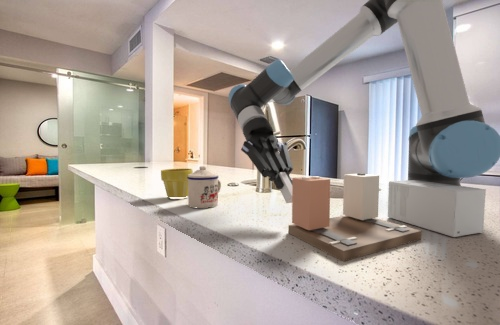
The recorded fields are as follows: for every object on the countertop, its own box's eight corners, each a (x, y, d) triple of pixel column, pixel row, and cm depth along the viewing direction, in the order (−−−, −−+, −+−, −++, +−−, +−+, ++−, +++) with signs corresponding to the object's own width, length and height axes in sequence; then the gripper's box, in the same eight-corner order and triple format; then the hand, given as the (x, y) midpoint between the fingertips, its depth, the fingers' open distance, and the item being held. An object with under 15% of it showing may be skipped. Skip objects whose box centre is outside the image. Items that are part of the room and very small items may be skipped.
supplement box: (413, 214, 63) (484, 234, 49) (386, 217, 61) (453, 239, 46) (415, 179, 63) (488, 188, 49) (388, 180, 60) (456, 191, 46)
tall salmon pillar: (311, 219, 52) (312, 175, 51) (329, 226, 47) (330, 177, 47) (292, 223, 49) (292, 176, 49) (308, 230, 45) (309, 179, 44)
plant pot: (155, 198, 84) (154, 169, 83) (179, 194, 92) (179, 167, 91) (175, 202, 78) (174, 171, 77) (199, 197, 86) (199, 169, 86)
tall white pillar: (358, 211, 58) (359, 172, 57) (377, 217, 54) (379, 174, 53) (342, 214, 56) (343, 173, 55) (362, 220, 51) (363, 175, 51)
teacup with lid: (203, 210, 68) (202, 168, 67) (181, 206, 73) (180, 166, 72) (231, 202, 77) (230, 165, 77) (209, 199, 83) (209, 164, 82)
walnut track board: (357, 219, 59) (358, 212, 59) (421, 239, 46) (421, 229, 46) (288, 232, 50) (288, 224, 50) (343, 261, 37) (343, 249, 37)
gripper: (270, 137, 73) (307, 205, 59) (229, 136, 67) (259, 212, 53) (281, 117, 68) (324, 186, 54) (237, 114, 62) (272, 191, 48)
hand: (291, 199), depth 53 cm, fingers closed
